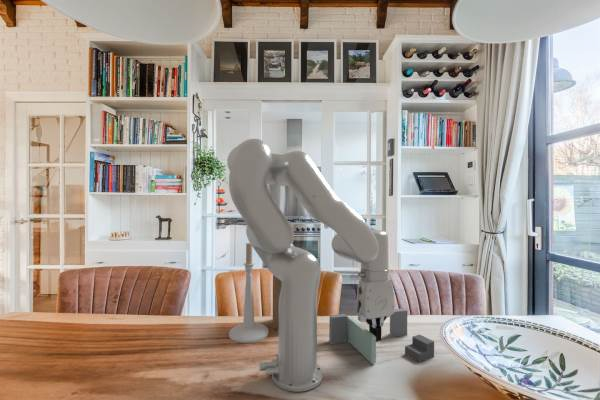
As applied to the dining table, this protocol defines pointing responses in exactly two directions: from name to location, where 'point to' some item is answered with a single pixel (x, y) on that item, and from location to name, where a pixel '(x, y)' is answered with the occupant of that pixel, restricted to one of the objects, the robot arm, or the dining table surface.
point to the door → (361, 339)
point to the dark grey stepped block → (420, 348)
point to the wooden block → (276, 301)
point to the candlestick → (248, 310)
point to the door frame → (340, 326)
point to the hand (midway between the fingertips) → (375, 339)
